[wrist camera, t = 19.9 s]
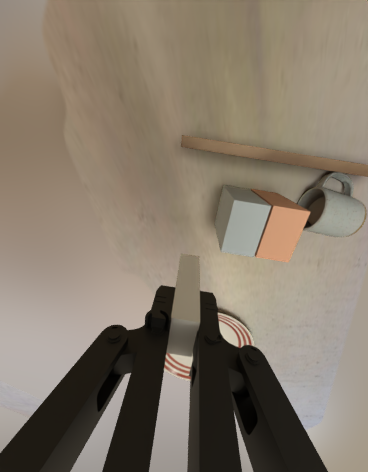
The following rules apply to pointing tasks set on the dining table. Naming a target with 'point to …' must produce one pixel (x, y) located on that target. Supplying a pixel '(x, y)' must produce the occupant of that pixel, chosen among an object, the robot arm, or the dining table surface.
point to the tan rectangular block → (280, 227)
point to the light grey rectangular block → (240, 220)
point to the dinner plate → (230, 332)
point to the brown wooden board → (274, 155)
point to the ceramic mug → (333, 209)
